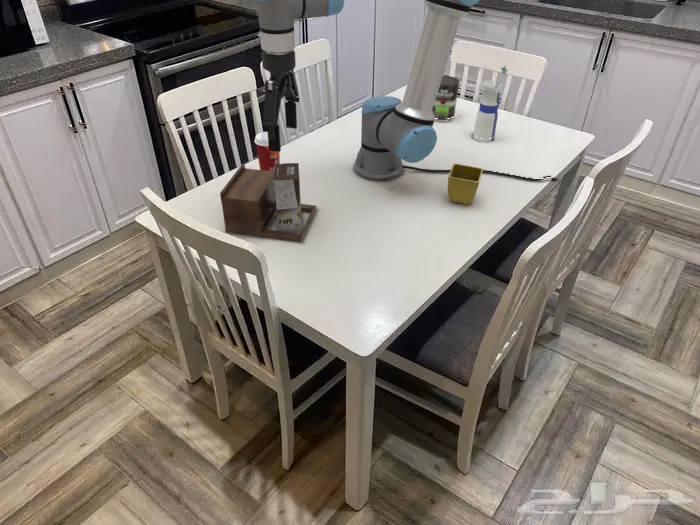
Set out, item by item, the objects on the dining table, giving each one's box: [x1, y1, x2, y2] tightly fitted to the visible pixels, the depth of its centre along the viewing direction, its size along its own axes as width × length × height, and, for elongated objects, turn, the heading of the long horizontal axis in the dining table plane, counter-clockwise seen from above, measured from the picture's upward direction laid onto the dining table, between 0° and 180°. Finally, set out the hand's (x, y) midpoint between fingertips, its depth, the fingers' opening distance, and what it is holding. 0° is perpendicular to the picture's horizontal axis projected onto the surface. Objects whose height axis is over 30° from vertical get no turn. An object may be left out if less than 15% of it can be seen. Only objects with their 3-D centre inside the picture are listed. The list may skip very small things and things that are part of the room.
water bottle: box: [472, 65, 509, 143], centre depth 185 cm, size 8×9×25 cm
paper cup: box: [254, 131, 281, 172], centre depth 163 cm, size 8×8×14 cm
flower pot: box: [447, 163, 484, 205], centre depth 156 cm, size 9×9×9 cm
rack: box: [219, 163, 317, 243], centre depth 145 cm, size 21×16×12 cm
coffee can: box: [432, 75, 460, 123], centre depth 202 cm, size 10×10×14 cm
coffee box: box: [274, 162, 302, 233], centre depth 143 cm, size 9×6×16 cm
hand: (283, 138), depth 133 cm, fingers open, 13 cm apart
